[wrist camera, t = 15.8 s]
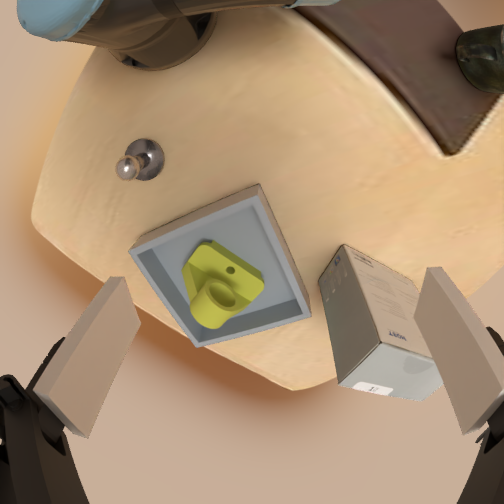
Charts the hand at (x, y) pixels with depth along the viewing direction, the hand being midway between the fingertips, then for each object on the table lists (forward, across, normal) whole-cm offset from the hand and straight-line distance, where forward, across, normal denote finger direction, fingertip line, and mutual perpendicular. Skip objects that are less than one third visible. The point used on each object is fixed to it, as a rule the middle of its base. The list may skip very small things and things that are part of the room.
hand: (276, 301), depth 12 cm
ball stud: (+29, -18, +2) cm, 34 cm away
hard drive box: (+29, +14, -19) cm, 38 cm away
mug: (+29, +31, +18) cm, 46 cm away
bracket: (+28, -8, -16) cm, 33 cm away
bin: (+29, -8, -16) cm, 34 cm away
